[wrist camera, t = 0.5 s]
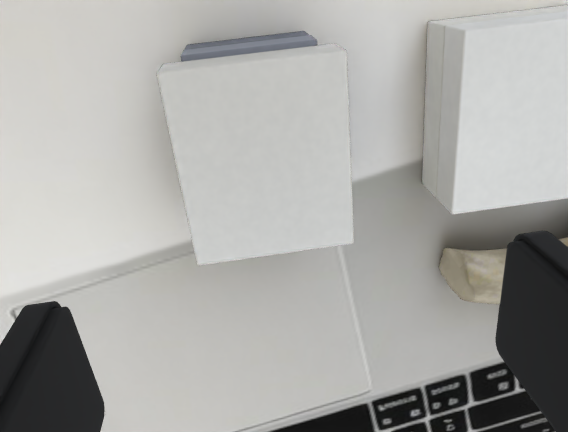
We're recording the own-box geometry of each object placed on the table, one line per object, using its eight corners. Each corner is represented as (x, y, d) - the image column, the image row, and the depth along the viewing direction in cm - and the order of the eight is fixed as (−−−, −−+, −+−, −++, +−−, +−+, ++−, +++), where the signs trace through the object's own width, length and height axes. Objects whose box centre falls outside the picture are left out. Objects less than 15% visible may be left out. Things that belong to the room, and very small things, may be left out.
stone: (642, 172, 25) (728, 215, 21) (635, 267, 28) (708, 320, 24) (435, 236, 26) (477, 291, 21) (448, 323, 29) (488, 386, 24)
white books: (427, 21, 21) (464, 30, 18) (570, 4, 21) (632, 10, 18) (421, 183, 24) (451, 215, 21) (544, 166, 25) (592, 195, 21)
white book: (161, 63, 17) (155, 72, 16) (336, 42, 18) (347, 49, 16) (199, 244, 21) (197, 266, 19) (344, 223, 21) (354, 244, 20)
